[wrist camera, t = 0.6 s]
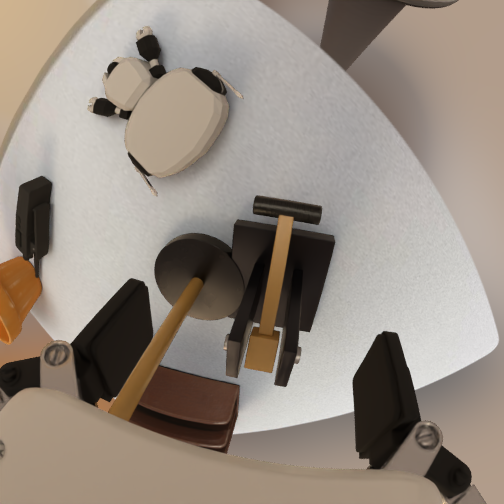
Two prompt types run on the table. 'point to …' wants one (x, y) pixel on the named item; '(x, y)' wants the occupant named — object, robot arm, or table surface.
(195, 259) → the desk lamp
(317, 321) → the table surface
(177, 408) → the letter holder
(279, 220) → the switch lever
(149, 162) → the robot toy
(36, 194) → the walkie-talkie
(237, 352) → the black pivot bracket
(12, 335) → the flower pot
